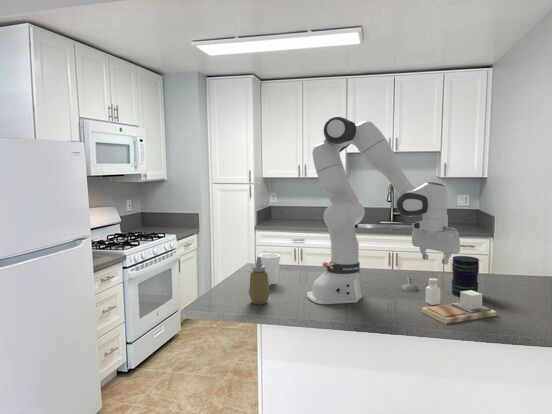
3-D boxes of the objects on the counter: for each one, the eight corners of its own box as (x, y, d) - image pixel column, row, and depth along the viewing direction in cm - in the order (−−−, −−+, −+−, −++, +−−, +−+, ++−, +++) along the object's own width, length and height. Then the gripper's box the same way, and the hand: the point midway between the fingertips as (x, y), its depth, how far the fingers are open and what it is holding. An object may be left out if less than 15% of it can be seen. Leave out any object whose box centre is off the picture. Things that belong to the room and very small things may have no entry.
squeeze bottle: (254, 307, 151) (253, 260, 149) (245, 301, 158) (245, 256, 156) (273, 303, 154) (272, 257, 153) (264, 298, 162) (263, 254, 160)
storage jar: (447, 294, 164) (448, 258, 163) (456, 289, 171) (457, 254, 170) (473, 299, 157) (474, 262, 156) (481, 293, 164) (482, 258, 163)
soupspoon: (401, 294, 169) (417, 296, 167) (401, 286, 168) (418, 288, 166) (401, 278, 190) (416, 280, 188) (401, 271, 189) (416, 273, 187)
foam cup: (284, 282, 184) (283, 254, 183) (273, 287, 176) (272, 258, 175) (266, 279, 189) (266, 252, 188) (255, 284, 181) (255, 256, 180)
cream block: (470, 309, 141) (471, 295, 140) (459, 305, 145) (460, 291, 145) (481, 307, 142) (482, 294, 142) (470, 303, 147) (471, 290, 146)
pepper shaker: (431, 305, 151) (432, 281, 150) (424, 302, 154) (425, 278, 154) (440, 304, 152) (441, 280, 151) (433, 301, 156) (434, 277, 155)
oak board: (445, 323, 133) (445, 317, 133) (421, 311, 144) (421, 306, 144) (496, 315, 140) (496, 310, 140) (469, 304, 151) (469, 299, 151)
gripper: (464, 227, 142) (464, 265, 144) (420, 222, 161) (420, 256, 162) (452, 229, 140) (451, 268, 141) (408, 223, 158) (409, 257, 159)
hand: (434, 261), depth 151 cm, fingers open, 8 cm apart
